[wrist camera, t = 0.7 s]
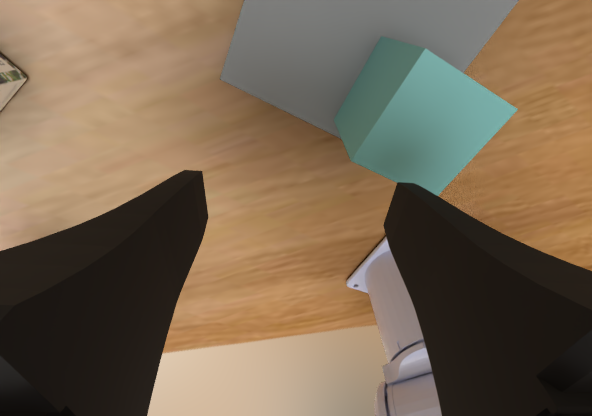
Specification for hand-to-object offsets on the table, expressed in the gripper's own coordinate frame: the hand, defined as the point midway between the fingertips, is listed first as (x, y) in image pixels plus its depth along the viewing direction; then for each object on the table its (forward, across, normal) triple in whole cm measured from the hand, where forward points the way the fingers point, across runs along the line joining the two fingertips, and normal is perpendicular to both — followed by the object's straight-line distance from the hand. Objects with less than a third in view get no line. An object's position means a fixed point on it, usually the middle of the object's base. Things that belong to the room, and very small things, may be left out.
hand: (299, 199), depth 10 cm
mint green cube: (+9, -6, -2) cm, 11 cm away
